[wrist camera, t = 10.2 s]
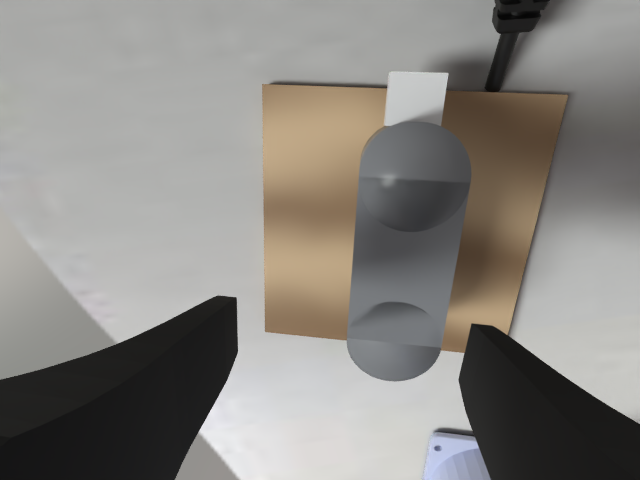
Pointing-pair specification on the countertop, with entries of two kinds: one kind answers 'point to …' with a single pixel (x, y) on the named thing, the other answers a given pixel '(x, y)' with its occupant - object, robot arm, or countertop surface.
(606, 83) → the countertop surface
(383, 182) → the grey capsule with tab
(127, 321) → the countertop surface
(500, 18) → the power plug
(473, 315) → the oak board
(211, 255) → the countertop surface
